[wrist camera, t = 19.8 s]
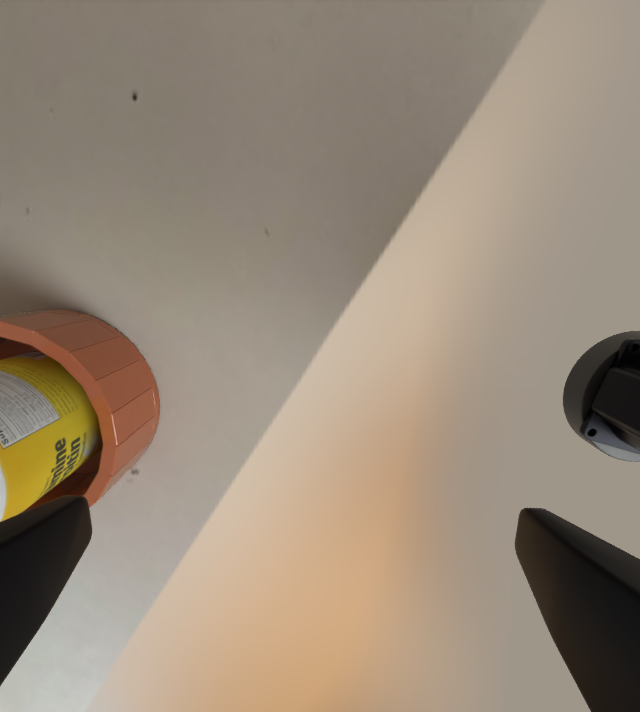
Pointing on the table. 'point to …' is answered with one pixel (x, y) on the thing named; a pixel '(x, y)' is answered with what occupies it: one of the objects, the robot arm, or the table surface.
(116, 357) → the bowl
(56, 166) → the table surface
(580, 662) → the robot arm
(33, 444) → the pill bottle
